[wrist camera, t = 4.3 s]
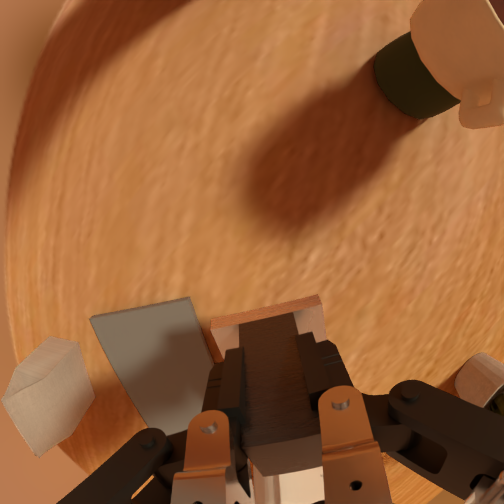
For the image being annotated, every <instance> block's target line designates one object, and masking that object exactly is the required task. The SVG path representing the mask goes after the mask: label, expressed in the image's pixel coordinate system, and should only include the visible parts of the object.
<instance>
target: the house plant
mask: <svg viewBox="0 0 504 504" xmlns="http://www.w3.org/2000/svg"><path fill="white" fill-rule="evenodd" d="M455 388H456V390H457V392H458V394H459V396H460V398H461V399H463V400H465V401H467V402H470V403H472V404H474V405H477V406H479V407H482V408H484V409H487V410H489V411H491V412H494V413H496V414H499V415H501V416H504V364H503V363H501V362H499V361H498V360H496V359H494V358H492V357H491V356H489V355H487V354H485V353H479V354H476V355H474V356H473V357H472V358H470V359H469V360H468V361H467V362H466V363H465V365H464V366H463V367H462V369H461V370H460V371H459V373H458V374H457V377H456V379H455Z"/></svg>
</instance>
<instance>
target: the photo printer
mask: <svg viewBox="0 0 504 504" xmlns="http://www.w3.org/2000/svg"><path fill="white" fill-rule="evenodd" d="M253 477H254V499H255V504H312V503H315V502H317V501H321V500H324V481H323V466H321V467H317V468H312V469H308V470H303V471H298V472H292V473H287V474H281V475H274V476H267V477H263V476H262V475H261V473H260V472H259V471H258V470H257V468H256V467H255V466H254V464H253Z"/></svg>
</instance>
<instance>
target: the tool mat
mask: <svg viewBox="0 0 504 504" xmlns="http://www.w3.org/2000/svg"><path fill="white" fill-rule="evenodd" d="M90 322H91V324H92V326H93V328H94V330H95V333H96V335H97V337H98V339H99V341H100V343H101V345H102V347H103V349H104V351H105V353H106V355H107V357H108V359H109V361H110V363H111V365H112V367H113V369H114V371H115V372H116V374H117V376H118V378H119V380H120V381H121V383H122V385H123V387H124V388H125V390H126V392H127V394H128V395H129V397H130V399H131V400H132V402H133V404H134V405H135V407H136V408H137V410H138V412H139V413H140V415H141V416H142V418H143V419H144V421H145V422H146V424H147V425H148V427H149V428H158V429H161V430H162V431H163V432H164V433H165V434H166V436H167V435H171V434H174V433H178V432H181V431H184V430H186V429H188V425H189V423H190V421H191V420H192V419H193V418H194V417H195V416H196V415H198V414H200V413H201V410H202V405H203V401H204V396H205V391H206V389H207V388H206V386H207V382H208V376H209V372H210V370H211V369H212V368H213V366H214V362H213V360H212V357H211V354H210V352H209V349H208V346H207V344H206V341H205V338H204V336H203V333H202V330H201V328H200V325H199V322H198V319H197V316H196V314H195V311H194V308H193V305H192V302H191V299H190V297H186V298H181V299H176V300H171V301H166V302H162V303H157V304H152V305H147V306H142V307H137V308H132V309H126V310H121V311H116V312H111V313H105V314H100V315H94V316H92V317H91V318H90Z"/></svg>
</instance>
